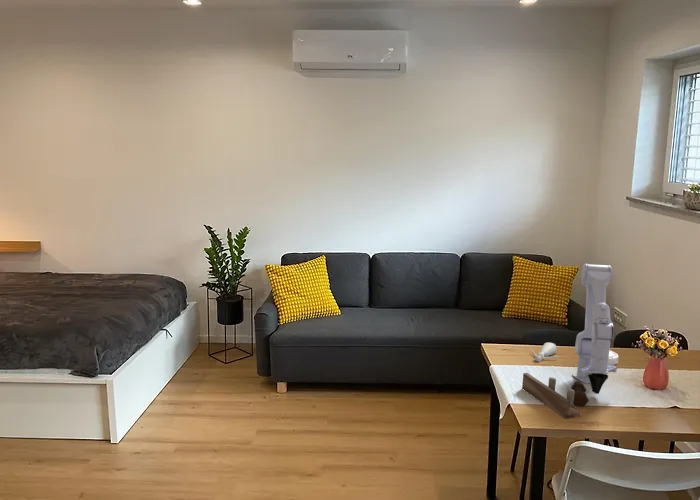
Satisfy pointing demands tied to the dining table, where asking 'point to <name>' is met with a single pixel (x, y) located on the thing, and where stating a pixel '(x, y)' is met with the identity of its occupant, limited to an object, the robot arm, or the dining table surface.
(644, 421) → the dining table surface
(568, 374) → the dining table surface
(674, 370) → the dining table surface
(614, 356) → the mooncake
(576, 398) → the dark brown elongated lump
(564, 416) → the peg rack
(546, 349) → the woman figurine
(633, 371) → the dining table surface
